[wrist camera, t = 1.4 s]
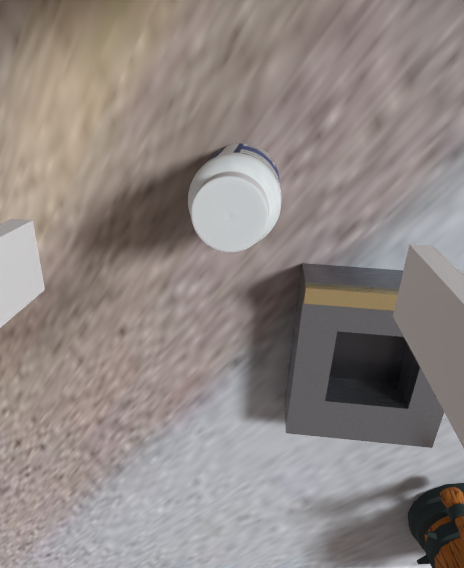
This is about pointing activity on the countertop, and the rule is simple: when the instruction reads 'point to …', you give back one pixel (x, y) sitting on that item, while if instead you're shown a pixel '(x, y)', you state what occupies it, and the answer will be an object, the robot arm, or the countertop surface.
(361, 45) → the countertop surface
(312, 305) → the jig
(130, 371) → the countertop surface
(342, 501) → the countertop surface
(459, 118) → the countertop surface
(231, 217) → the pill bottle
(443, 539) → the mug
